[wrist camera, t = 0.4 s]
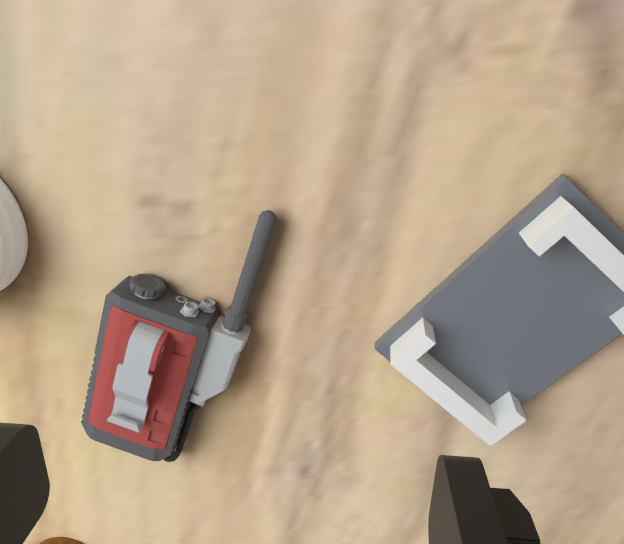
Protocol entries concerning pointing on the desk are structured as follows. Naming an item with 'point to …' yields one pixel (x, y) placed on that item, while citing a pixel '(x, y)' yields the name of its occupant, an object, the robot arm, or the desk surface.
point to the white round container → (11, 237)
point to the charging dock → (516, 313)
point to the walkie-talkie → (165, 357)
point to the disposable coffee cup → (60, 541)
